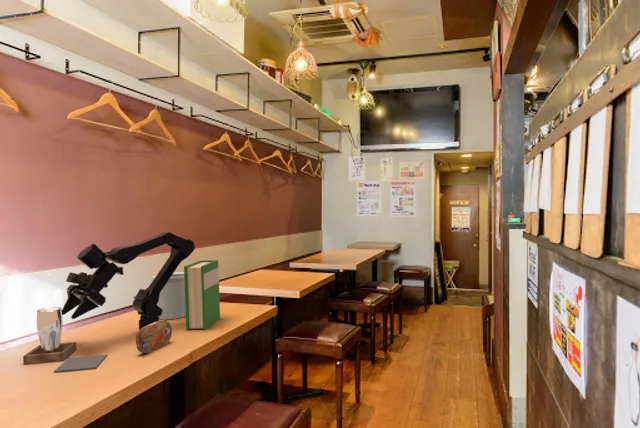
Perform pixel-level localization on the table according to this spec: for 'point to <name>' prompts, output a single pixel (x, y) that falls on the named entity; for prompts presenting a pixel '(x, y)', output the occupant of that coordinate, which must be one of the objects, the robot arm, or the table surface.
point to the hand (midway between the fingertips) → (66, 316)
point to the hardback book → (202, 294)
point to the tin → (153, 336)
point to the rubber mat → (81, 363)
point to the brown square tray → (49, 354)
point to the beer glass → (50, 329)
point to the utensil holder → (173, 297)
